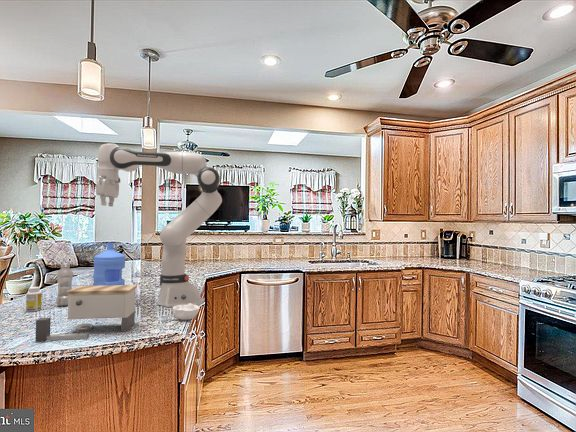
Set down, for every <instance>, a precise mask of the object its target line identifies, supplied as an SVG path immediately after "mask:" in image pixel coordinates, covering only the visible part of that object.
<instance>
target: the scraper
mask: <svg viewBox="0 0 576 432" xmlns="http://www.w3.org/2000/svg"><path fill="white" fill-rule="evenodd" d="M51 324H52V323H51V317H39V318H37V319H36V321H35V341H38V342H47V341H46V340H51V341H70V340H71V341H73V340H76V341H77V340H87V339H89V338H90V333H89V332H85V333H84V332H83V333H81V332H80V333H60V334H59V333H57V334H52V333H51Z"/></svg>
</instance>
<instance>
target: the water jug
mask: <svg viewBox="0 0 576 432" xmlns="http://www.w3.org/2000/svg"><path fill="white" fill-rule="evenodd" d="M125 267H126V255H125V254H123V253H121V252H118V251H116V250H114V242H107V245H106V250H105V251H102V252H100V253H98V254H96V255H94V257H93V276H92V277H93V285H92V286H106V285H125V279H123V269H125Z"/></svg>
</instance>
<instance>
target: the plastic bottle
mask: <svg viewBox="0 0 576 432" xmlns="http://www.w3.org/2000/svg"><path fill="white" fill-rule="evenodd" d="M70 263H71V262H62V263H60V269H59V270H58V272H57V273H56V279H57V294H56V300H55V301H56V306H59V307H60V306H61V307H66V306H67V307H68V294H66V291H69V290H71V289H72V285H73V284H72V283H73V278H74V277H73V276H74V273H73V271H72V269H71V264H70Z"/></svg>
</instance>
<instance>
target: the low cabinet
mask: <svg viewBox="0 0 576 432" xmlns="http://www.w3.org/2000/svg"><path fill="white" fill-rule="evenodd" d="M137 288H138V285H137V284H126V285H106V286H93V285H79V286H76V287H74V288H71V290H69V291H66V294H68V305H67V320H91V319H92V320H93V319H95V320H96V319H120V318H121V325H120V327H121V329H120V330H121V332H128V331H129V330H130V329H131V328H132V327H133V326H134V324H135V318H136V317H135V316H136V315H135V313H136V312H135V311H136V289H137Z"/></svg>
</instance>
